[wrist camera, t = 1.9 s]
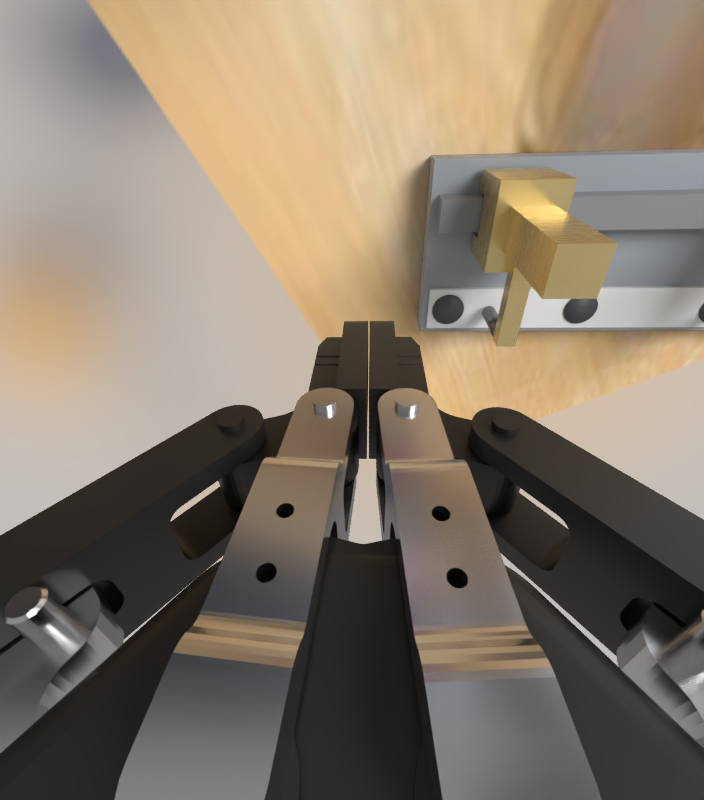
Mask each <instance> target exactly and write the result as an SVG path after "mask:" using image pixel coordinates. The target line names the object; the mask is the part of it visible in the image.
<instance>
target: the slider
mask: <svg viewBox="0 0 704 800" xmlns="http://www.w3.org/2000/svg"><path fill="white" fill-rule="evenodd" d="M577 180H578V178H575V177H573V176H570V175H568V174H566V173H563V172H561V171H558V170H556V169H553V168H551V167H513V168H483V171H482V178H481V184H480V190H481V191H482V192H483V193H484V194H485V195H484V201H483V207H482V214H481V220H480V226H479V232H473V236H472V242H471V249H470V251H471V252H472V254H473V255H474V257H475V258H476V260H477V262H478V263H479V265H480V266H481V268H482V270H483V271H484V273H495V272H508V273H507V277H506V282H505V286H504V291H503V296H502V300H501V305H500V309H499V314H498V313H497V311H496V310H495V308H494V307H493V306H487V307H485V308H484V309H483V310H482V316H483V318H484V320H485V322H486V324H487V326H488V328H489V330H490V332H491V334H492V336H493V340H494V342H495V344H496V346H515V344H516V341H517V337H518V333H519V329H520V325H521V322H522V318H523V314H524V310H525V306H526V302H527V299H528V295H529V291H530V287H531V286H532V287H533V289H534V290H535V291H536V292H537V293H538V295H539V296H540V297H541V298H542V299H597V298H598V295H599V292H600V290H601V287H602V284H603V282H604V279H605V276H606V274H607V271H608V268H609V266H610V263H611V260H612V258H613V255H614V253H615V250H616V247H617V245H618V243H617V242H615V241H613V240H612V239H610V238H608V237H607V236H605V235H603V234H602V233H600V232H598V231H597V230H595V229H593V228H592V227H590V226H588V225H587V224H585V223H583V222H582V221H580V220H578V219H577V218H575V217H573V216H572V215H570V214H568V212H569V208H570V205H571V201H572V198H573V194H574V191H575V187H576V184H577Z"/></svg>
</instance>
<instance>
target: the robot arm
mask: <svg viewBox="0 0 704 800" xmlns="http://www.w3.org/2000/svg"><path fill="white" fill-rule="evenodd" d="M367 410H368V321H345V322H344V328H343V335H342V337H327V338H326V339H325V340H324V341H323V342H322V343H321V344H320V345H319V347H318V351H317V356H316V360H315V366H314V369H313V374H312V378H311V383H310V387H309V392H308V393H306V394H304V395H303V396H302V397H300V399H299V400H298V402H297V404H296V406H295V409H294V411H292V412H290V413H288V414H285V415H281V416H277V417H272V418H268V419H263V417H262V414H261V413H260V411H258V410H257V409H255V408H253V407H250V406H246V405H234V406H229V407H225V408H222V409H219V410H217V411H215V412H213V413H212V414H210V415H208V416H206V417H205V418H203V419H201V420H200V421H198V422H196V423H194V424H193V425H191V426H189V427H188V428H186V429H184V430H182V431H181V432H179V433H177V434H175V435H174V436H172V437H170V438H168V439H167V440H165V441H163V442H161V443H160V444H158V445H156V446H155V447H153V448H151V449H150V450H148V451H146V452H144V453H142V454H141V455H139V456H137V457H135V458H134V459H132V460H131V461H129V462H127V463H125V464H123V465H122V466H120V467H118V468H117V469H115V470H113V471H111V472H110V473H108V474H106V475H104V476H103V477H101V478H99V479H97V480H96V481H94V482H92V483H91V484H89V485H87V486H85V487H84V488H82V489H80V490H79V491H77V492H75V493H73V494H72V495H70V496H68V497H66V498H65V499H63V500H61V501H59V502H58V503H56V504H54V505H52V506H51V507H49V508H47V509H46V510H44V511H42V512H40V513H39V514H37V515H35V516H33V517H32V518H30V519H28V520H26V521H25V522H23V523H22V524H20V525H18V526H16V527H14V528H13V529H11V530H10V531H7V532H6V533H4V534H2V535H0V800H704V520H703V519H701V518H700V517H698V516H696V515H695V514H693V513H691V512H689V511H688V510H686V509H684V508H682V507H681V506H679V505H677V504H676V503H674V502H672V501H671V500H669V499H667V498H666V497H664V496H662V495H660V494H659V493H657V492H655V491H654V490H652V489H650V488H648V487H647V486H645V485H643V484H641V483H640V482H638V481H637V480H635V479H633V478H631V477H630V476H628V475H626V474H624V473H623V472H621V471H619V470H618V469H616V468H614V467H612V466H611V465H609V464H607V463H606V462H604V461H602V460H601V459H599V458H597V457H595V456H594V455H592V454H590V453H589V452H587V451H585V450H584V449H582V448H580V447H578V446H577V445H575V444H573V443H572V442H570V441H568V440H566V439H565V438H563V437H561V436H560V435H558V434H556V433H554V432H553V431H551V430H549V429H548V428H546V427H544V426H542V425H541V424H539V423H537V422H536V421H534V420H532V419H531V418H529V417H527V416H525V415H524V414H522V413H520V412H517V411H515V410H511V409H507V408H500V407H493V408H487V409H483V410H481V411H479V412H478V413H476V414H475V416H474V417H473V419H472V420H468V419H464V418H459V417H455V416H452V415H449V414H447V413H445V412H443V411H441V410H439V409H438V408H437V405H436V402H435V400H434V399H433V398H432V397H431V396H430V395H429V394H428V388H427V383H426V378H425V372H424V367H423V362H422V358H421V351H420V346H419V345H418V344H417V343H416V342H415V341H414V340H413V339H412V338H411V337H395V329H394V321H370V361H369V458H370V459H376V461H377V462H376V468H377V474H376V475H377V476H376V478H377V479H376V486H377V495H378V505H379V514H380V522H381V523H380V524H381V533H382V541H378V542H374V543H369V544H358V543H354V542H350V541H348V538H349V531H350V524H351V517H352V510H353V503H354V496H355V489H356V475H357V473H358V467H359V459H366V458H367ZM216 481H219V484H220V487H219V488H218V489H216V490H215V491H213V492H212V493H211V494H209V495H208V496H206V497H205V498H203V499H202V500H201V501H199V502H198V503H197V504H195V505H194V506H192V507H191V508H190V509H188V510H187V511H185V512H184V513H183V514H181V515H180V516H178V517H177V518H175V519H174V520H173V521H171V522H170V520H171V518H172V516H173V514H174V513H175V512H176V510H177V509H179V508H180V507H181V506H182V505H184V504H185V503H187V502H188V501H189V500H191V499H192V498H193V497H195V496H197V495H198V494H199V493H201V492H202V491H203V490H205V489H206V488H208V487H209V486H211V485H212V484H214V483H215V482H216ZM520 488H521V489H523V490H524V491H525V492H527V493H528V494H530V495H531V496H532V497H534V498H535V499H536V500H538V501H539V502H541V503H542V504H543V505H545V506H546V507H547V508H549V509H550V510H551V511H553V512H554V513H556V514H557V515H558V516H559V517H560V518H561V519H563V521H564V522H565V523H566V525H567V526H568V528H569V529H567V528H566V527H564V526H563V525H562V524H560V523H559V522H557V521H556V520H555V519H554V518H552V517H551V516H550V515H548V514H547V513H546V512H544V511H543V510H541V509H540V508H539V507H537V506H536V505H535V504H533V503H532V502H531V501H529V500H528V499H527V498H525V497H524V496H523V495H521V494H520V493H519V490H520ZM500 553H501V554H503V555H504V556H505V557H506V558H507V559H508V560H509V561H510V562H512V563H513V564H514V565H515V566H516V567H517V568H518V569H519V570H521V571H522V572H523V573H524V574H525V575H526V576H527V577H528V578H530V579H531V580H532V581H533V582H534V583H535V584H536V585H537V586H538V587H540V588H541V589H542V590H543V591H544V592H545V593H546V594H548V595H549V596H550V597H551V598H552V599H553V600H554V601H555V602H557V603H558V604H559V605H560V606H561V607H562V608H563V609H564V610H565V611H567V612H568V613H569V614H570V615H571V616H572V617H573V618H574V619H576V620H577V621H578V622H579V623H580V624H581V625H582V626H583V627H584V628H586V629H587V630H588V631H589V632H590V633H591V634H592V635H593V636H595V637H596V638H597V639H598V640H599V641H600V642H601V643H602V644H604V645H605V646H606V647H607V648H608V649H609V650H610V651H612V652H613V653H614V654H615V655H616V656H617V662H618V666H619V667H618V666H617V665H616V664H615V663H613V662H612V661H611V660H610V659H609V658H608V657H607V656H606V655H605V654H604V653H603V652H602V651H601V650H600V649H599V648H598V647H597V646H595V644H593V643H592V642H591V641H590V640H589V639H588V638H587V637H586V636H585V635H584V634H583V633H582V632H581V631H580V630H579V629H578V628H577V627H576V626H575V625H573V624H572V623H571V622H570V621H569V620H568V619H567V618H566V617H565V616H564V615H563V614H562V613H561V612H560V611H559V610H558V609H556V608H555V607H554V606H553V605H552V604H551V603H550V602H549V601H548V600H547V599H546V598H545V597H544V596H543V595H542V594H541V593H540V592H539V591H538V590H537V589H536V588H534V587H533V586H532V585H531V584H530V583H529V582H528V581H526V580H525V579H524V578H523V577H521V576H520V575H519V574H517V573H516V572H515V571H513V570H512V569H510V568H508V567H507V566H505V565H504V563H503V560H502V558H501V554H500ZM223 555H224V556H223ZM222 556H223V558H222V560H221V561H219V562H218V563H216V564H215V565H213V566H212V567H210V566H211V565H212V564H214V563H215V562H216V561H217V560H218V559H219V558H221V557H222ZM209 567H210V568H209ZM208 568H209V569H208ZM207 569H208V570H207ZM205 570H206V571H205ZM204 571H205V572H204ZM199 575H200V576H199ZM198 576H199V577H198ZM192 581H193V582H192ZM191 582H192V583H191ZM190 583H191V584H190ZM189 584H190V585H189ZM188 585H189V586H188ZM186 586H187V587H186ZM185 587H186V588H185ZM184 588H185V589H184ZM183 589H184V590H183ZM182 590H183V591H182ZM180 591H182V592H181V593H179V592H180ZM178 593H179V594H178ZM177 594H178V595H177ZM176 595H177V596H176ZM175 596H176V597H175ZM173 597H175V598H174V599H173V600H172V601H171V602H169V601H170V600H171V599H172V598H173ZM167 602H169V603H168V604H167V605H166V606H165V607H164V608H163V609H162V610H160V611H159V612H158V613H157V614H156V615H155V616H154V617H153V618H151V619H150V620H149V621H148V622H147V623H146V624H145V625H144V626H143V627H141V628H140V629H139V630H138V631H137V632H136V633H135V634H134V635H132V636H131V637H130V638H129V639H128V640H127V641H126V642H125V643H123V640H124V639H125V638H126V637H127V636H128V635H130V634H131V633H132V632H133V631H134V630H135V629H137V628H138V627H139V626H140V625H141V624H142V623H144V622H145V621H146V620H147V619H149V618H150V617H151V616H152V615H153V614H154V613H156V612H157V611H158V610H159V609H160V608H162V607H163V606H164V605H165V604H166V603H167Z"/></svg>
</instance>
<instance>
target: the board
mask: <svg viewBox="0 0 704 800" xmlns="http://www.w3.org/2000/svg"><path fill="white" fill-rule="evenodd" d="M513 167H551V168H553V169H556V170H558V171H561V172H563V173H566V174H568V175H570V176H573V177H575V178H578V180H577V184H576V187H575V191H574V194H573V198H572V201H571V205H570V208H569V212H568V214H570V215H572V216H573V217H575V218H577V219H578V220H580V221H582V222H583V223H585V224H587V225H588V226H590V227H592V228H593V229H595V230H597V231H598V232H600V233H602V234H603V235H605V236H607V237H608V238H610V239H612V240H613V241H615V242H617V243H618V245H617V247H616V250H615V253H614V255H613V258H612V260H611V263H610V266H609V268H608V271H607V274H606V276H605V279H604V282H603V284H602V287H601V290H600V292H599V295H598V298H597V299H542V298H541V297H540V296H539V295H538V293H537V292H536V291H535V290H534V289H533V287H532V286H531V287H530V291H529V295H528V299H527V302H526V306H525V310H524V314H523V318H522V322H521V325H520V329H519V331H529V330H704V149H669V150H630V151H591V152H551V153H512V154H473V155H434V156H431V162H430V174H429V186H428V198H427V210H426V222H425V234H424V246H423V258H422V270H421V282H420V294H419V306H418V318H417V320H418V326H419V331H490V330H489V328H488V326H487V324H486V322H485V320H484V318H483V316H482V310H483V309H484V308H485V307H487V306H493V307H494V308H495V310H496V311H497V313H498V314H499V309H500V305H501V300H502V296H503V291H504V286H505V282H506V277H507V273H508V272H495V273H484V271H483V270H482V268H481V266H480V265H479V263H478V262H477V260H476V258H475V257H474V255H473V254H472V252H471V251H470V249H471V242H472V236H473V232H479V226H480V220H481V214H482V207H483V201H484V195H485V194H484V193H483V192H482V191H481V190H480V184H481V178H482V171H483V168H513Z"/></svg>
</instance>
